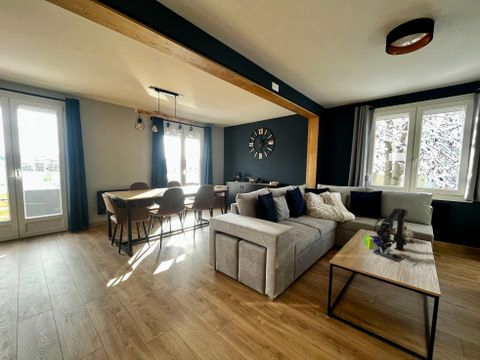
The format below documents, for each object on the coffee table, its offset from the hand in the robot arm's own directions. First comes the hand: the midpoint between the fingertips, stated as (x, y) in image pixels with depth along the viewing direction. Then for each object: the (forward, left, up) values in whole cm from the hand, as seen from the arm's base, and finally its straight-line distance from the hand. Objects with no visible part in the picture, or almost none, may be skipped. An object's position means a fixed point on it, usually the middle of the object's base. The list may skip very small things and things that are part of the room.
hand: (384, 251), depth 174 cm
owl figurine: (-56, -10, -3) cm, 57 cm away
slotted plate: (0, +2, -3) cm, 4 cm away
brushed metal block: (0, 0, -3) cm, 3 cm away
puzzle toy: (-7, -14, -3) cm, 16 cm away
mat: (-3, +16, -3) cm, 17 cm away
